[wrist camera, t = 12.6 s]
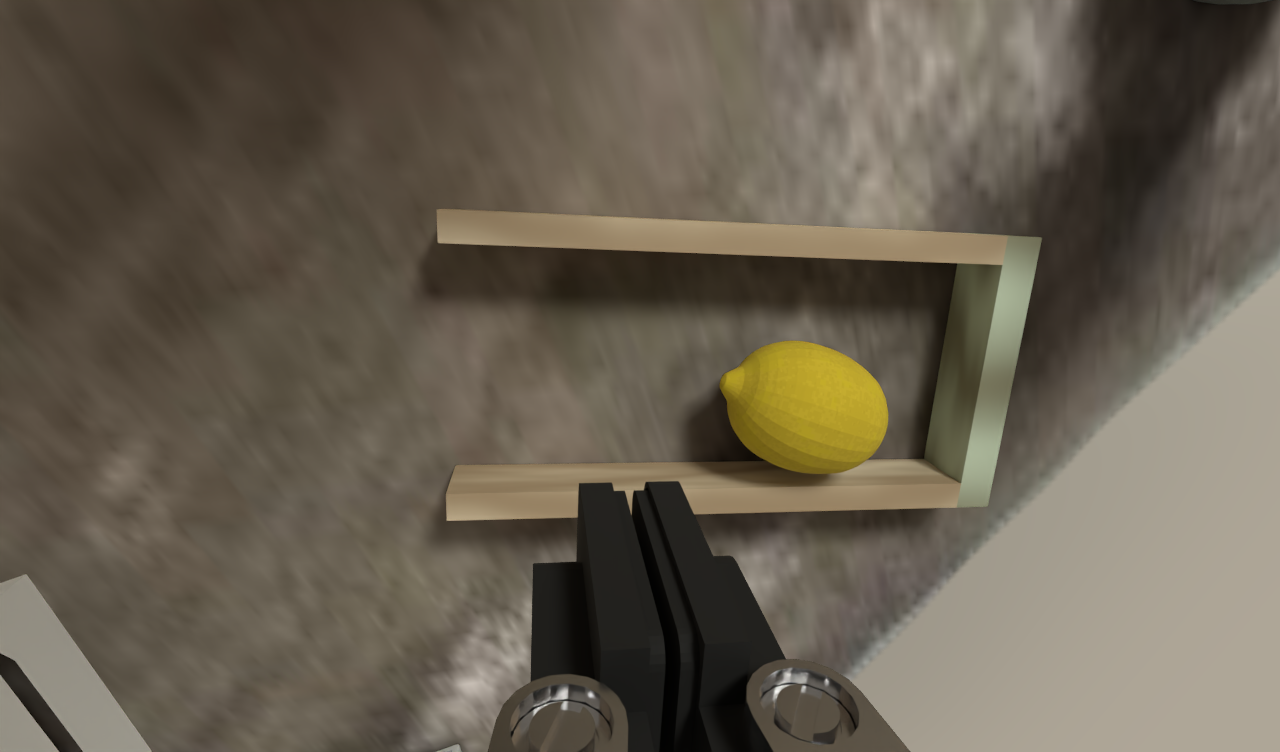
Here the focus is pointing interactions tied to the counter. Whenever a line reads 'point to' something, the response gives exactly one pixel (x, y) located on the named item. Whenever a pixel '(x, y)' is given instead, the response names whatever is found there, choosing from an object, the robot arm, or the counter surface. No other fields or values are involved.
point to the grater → (54, 681)
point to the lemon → (805, 407)
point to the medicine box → (451, 749)
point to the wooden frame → (945, 478)
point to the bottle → (1232, 1)
